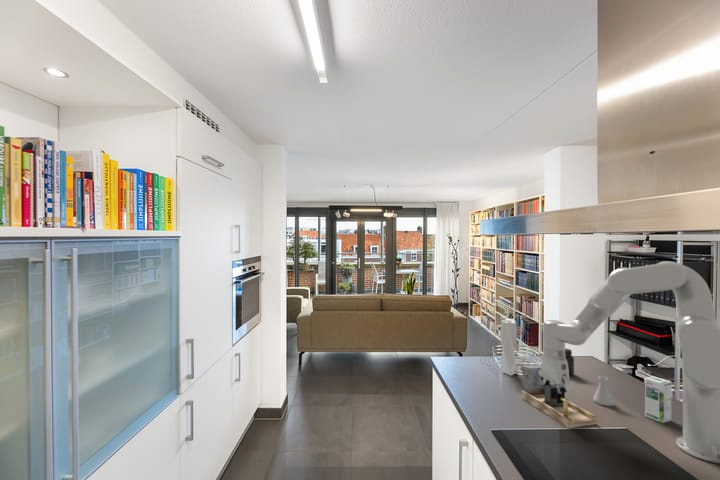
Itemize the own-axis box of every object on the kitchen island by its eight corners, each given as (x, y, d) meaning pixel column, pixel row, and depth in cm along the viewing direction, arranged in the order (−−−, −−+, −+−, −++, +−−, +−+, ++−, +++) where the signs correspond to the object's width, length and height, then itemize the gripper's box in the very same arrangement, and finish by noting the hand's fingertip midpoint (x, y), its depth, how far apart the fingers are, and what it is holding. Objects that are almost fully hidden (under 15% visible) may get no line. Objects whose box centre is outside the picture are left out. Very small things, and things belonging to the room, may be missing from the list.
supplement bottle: (560, 370, 177) (560, 346, 177) (576, 374, 172) (576, 349, 172) (556, 373, 172) (556, 349, 172) (571, 377, 167) (571, 352, 167)
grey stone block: (537, 383, 160) (537, 361, 160) (552, 391, 152) (552, 367, 152) (519, 385, 157) (519, 362, 158) (533, 393, 149) (533, 369, 150)
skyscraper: (496, 372, 174) (496, 316, 174) (503, 368, 179) (503, 314, 179) (512, 376, 168) (512, 318, 168) (519, 372, 173) (519, 316, 173)
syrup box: (644, 416, 130) (644, 377, 130) (654, 413, 132) (654, 375, 132) (662, 423, 125) (662, 383, 125) (672, 420, 127) (672, 380, 127)
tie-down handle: (565, 405, 135) (565, 386, 135) (548, 407, 133) (548, 388, 133) (559, 402, 138) (559, 383, 138) (542, 404, 136) (542, 385, 136)
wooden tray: (596, 424, 124) (596, 398, 125) (568, 428, 122) (568, 402, 122) (545, 395, 148) (545, 374, 148) (521, 398, 145) (521, 376, 145)
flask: (618, 407, 137) (618, 382, 137) (597, 405, 138) (597, 380, 139) (609, 399, 144) (609, 375, 144) (589, 397, 146) (589, 373, 146)
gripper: (580, 359, 128) (580, 408, 128) (545, 345, 145) (545, 388, 145) (563, 360, 127) (563, 410, 126) (530, 346, 143) (529, 390, 143)
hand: (553, 398), depth 136 cm, fingers open, 5 cm apart
